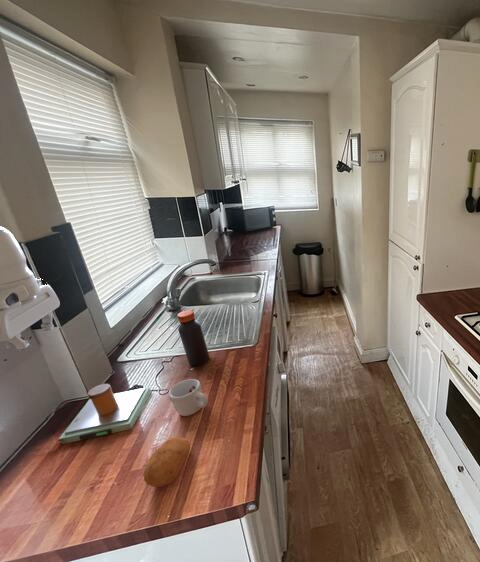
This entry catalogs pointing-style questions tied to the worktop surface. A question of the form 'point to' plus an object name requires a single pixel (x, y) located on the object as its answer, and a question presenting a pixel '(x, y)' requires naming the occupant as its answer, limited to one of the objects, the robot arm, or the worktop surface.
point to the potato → (166, 462)
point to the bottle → (192, 339)
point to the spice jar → (103, 399)
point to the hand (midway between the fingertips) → (37, 338)
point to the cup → (187, 397)
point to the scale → (107, 417)
